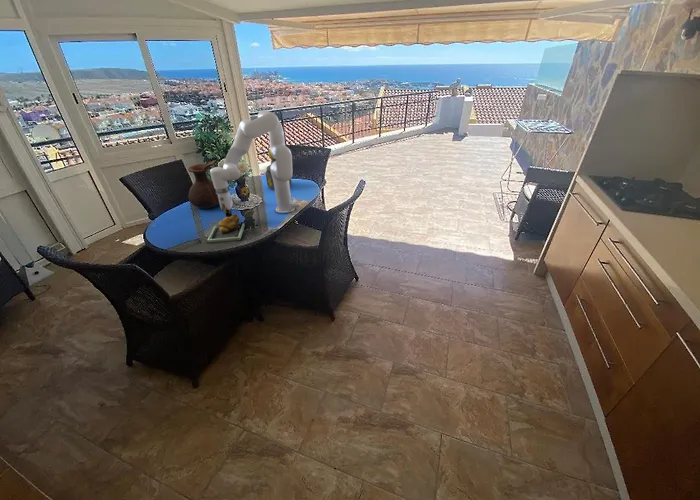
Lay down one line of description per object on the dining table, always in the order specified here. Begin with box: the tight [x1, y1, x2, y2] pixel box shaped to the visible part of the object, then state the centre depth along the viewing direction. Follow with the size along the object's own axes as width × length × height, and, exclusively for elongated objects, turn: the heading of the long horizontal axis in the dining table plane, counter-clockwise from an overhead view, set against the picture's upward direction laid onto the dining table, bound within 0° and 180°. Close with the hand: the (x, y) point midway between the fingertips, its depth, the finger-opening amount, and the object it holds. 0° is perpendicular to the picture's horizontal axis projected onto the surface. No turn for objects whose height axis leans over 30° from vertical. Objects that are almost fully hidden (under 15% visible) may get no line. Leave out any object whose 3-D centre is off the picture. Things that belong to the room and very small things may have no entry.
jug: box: [187, 160, 220, 210], centre depth 194 cm, size 22×22×30 cm
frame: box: [206, 222, 246, 244], centre depth 168 cm, size 17×17×2 cm
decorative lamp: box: [265, 148, 292, 191], centre depth 221 cm, size 19×19×30 cm
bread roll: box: [218, 214, 240, 234], centre depth 170 cm, size 13×10×8 cm
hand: (229, 218), depth 177 cm, fingers closed
